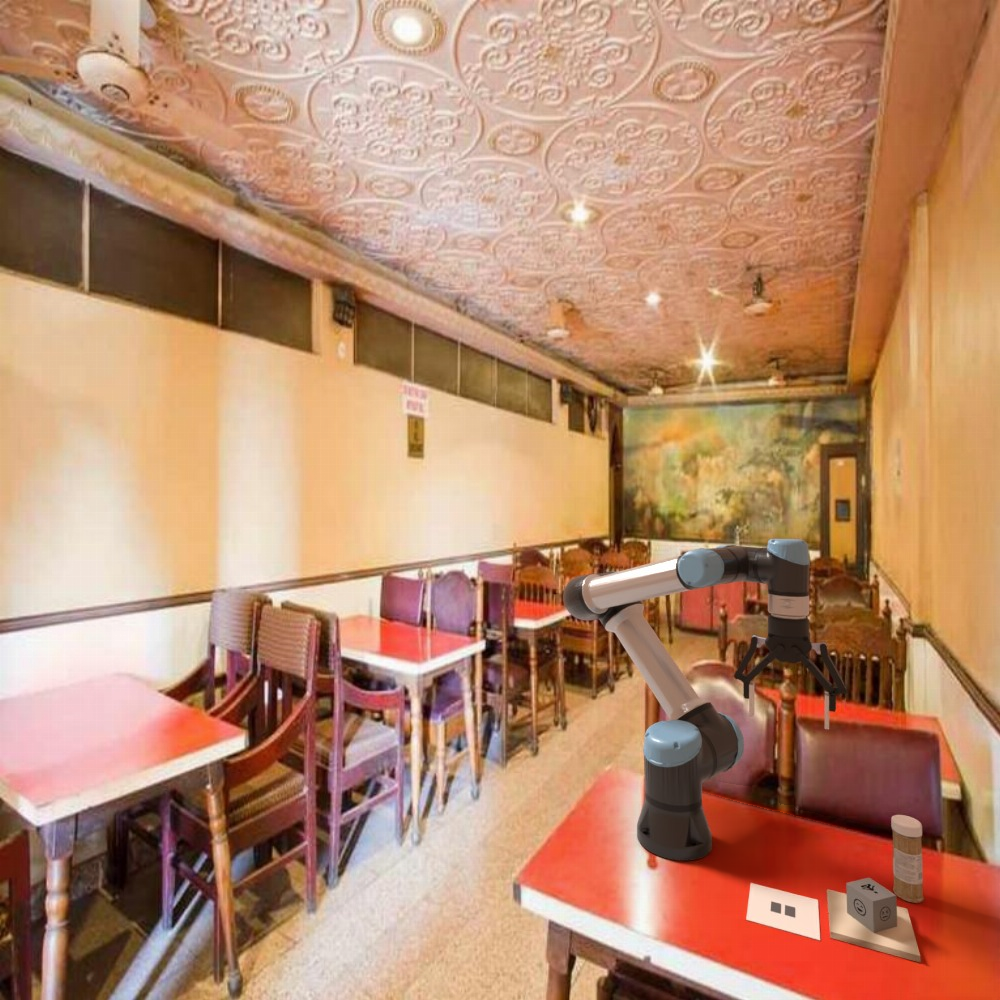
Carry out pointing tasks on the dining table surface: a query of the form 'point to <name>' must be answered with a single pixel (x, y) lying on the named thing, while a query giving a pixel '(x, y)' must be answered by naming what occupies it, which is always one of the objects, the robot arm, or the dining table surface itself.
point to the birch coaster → (887, 941)
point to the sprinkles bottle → (907, 858)
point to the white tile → (784, 911)
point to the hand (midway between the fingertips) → (788, 720)
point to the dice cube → (871, 905)
